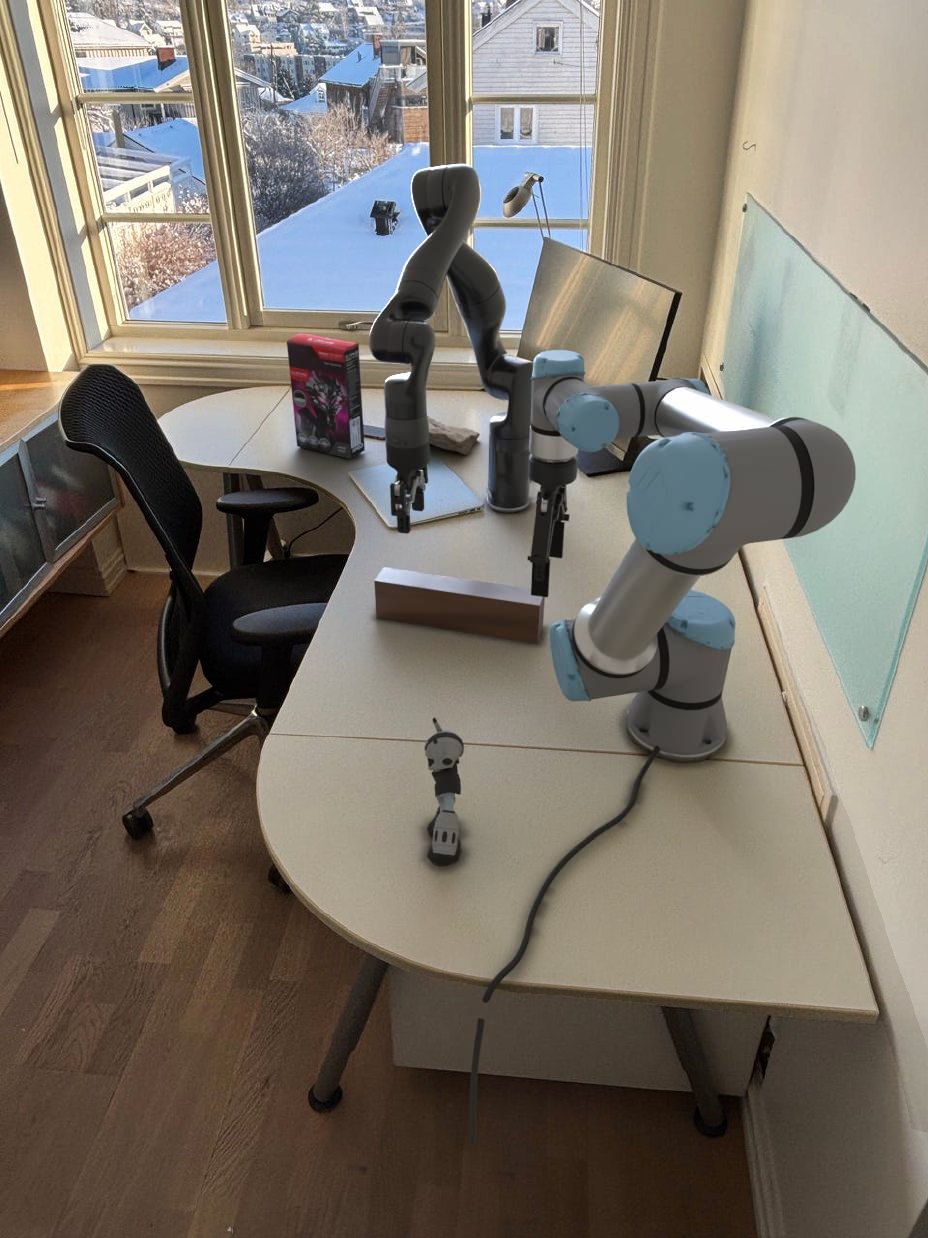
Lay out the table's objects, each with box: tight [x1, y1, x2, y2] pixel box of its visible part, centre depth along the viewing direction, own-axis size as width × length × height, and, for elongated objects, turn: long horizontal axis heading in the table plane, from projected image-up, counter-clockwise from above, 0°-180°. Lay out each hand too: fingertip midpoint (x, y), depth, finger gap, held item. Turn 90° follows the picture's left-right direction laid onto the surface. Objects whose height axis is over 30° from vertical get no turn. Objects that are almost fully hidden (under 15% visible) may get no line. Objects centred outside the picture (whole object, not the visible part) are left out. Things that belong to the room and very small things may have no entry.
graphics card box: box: [286, 332, 366, 459], centre depth 224 cm, size 17×7×27 cm, turn 62°
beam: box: [374, 566, 546, 644], centre depth 165 cm, size 5×30×8 cm, turn 75°
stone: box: [427, 415, 481, 455], centre depth 233 cm, size 21×15×6 cm
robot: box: [423, 717, 465, 867], centre depth 118 cm, size 20×5×20 cm, turn 3°
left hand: (411, 520), depth 166 cm, fingers open, 8 cm apart
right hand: (547, 575), depth 153 cm, fingers open, 13 cm apart
